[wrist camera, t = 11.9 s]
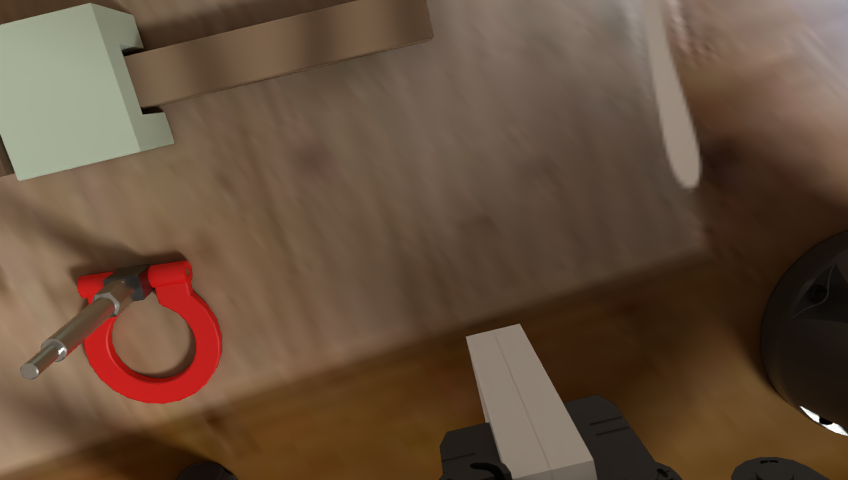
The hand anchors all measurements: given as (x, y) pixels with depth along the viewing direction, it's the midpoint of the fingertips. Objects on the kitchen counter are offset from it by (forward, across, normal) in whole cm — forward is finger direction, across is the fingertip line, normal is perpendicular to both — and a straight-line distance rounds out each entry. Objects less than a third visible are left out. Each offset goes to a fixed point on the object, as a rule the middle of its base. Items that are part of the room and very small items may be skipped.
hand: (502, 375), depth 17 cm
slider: (+26, +19, -12) cm, 35 cm away
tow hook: (+27, +21, +4) cm, 34 cm away
